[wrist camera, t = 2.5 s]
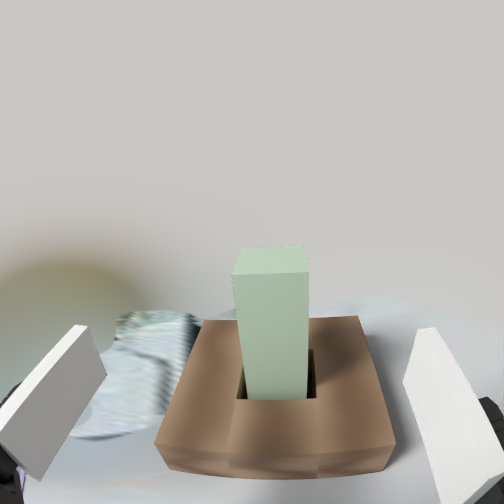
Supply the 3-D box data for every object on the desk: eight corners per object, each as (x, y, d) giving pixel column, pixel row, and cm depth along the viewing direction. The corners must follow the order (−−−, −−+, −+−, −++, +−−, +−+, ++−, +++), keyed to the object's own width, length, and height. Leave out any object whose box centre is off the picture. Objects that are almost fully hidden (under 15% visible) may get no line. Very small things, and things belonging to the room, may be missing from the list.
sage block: (304, 386, 27) (304, 245, 22) (305, 422, 22) (308, 271, 18) (256, 386, 27) (241, 248, 22) (251, 422, 23) (231, 274, 18)
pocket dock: (354, 345, 31) (357, 315, 30) (382, 470, 16) (396, 444, 15) (210, 349, 33) (204, 320, 32) (169, 469, 18) (153, 442, 17)
